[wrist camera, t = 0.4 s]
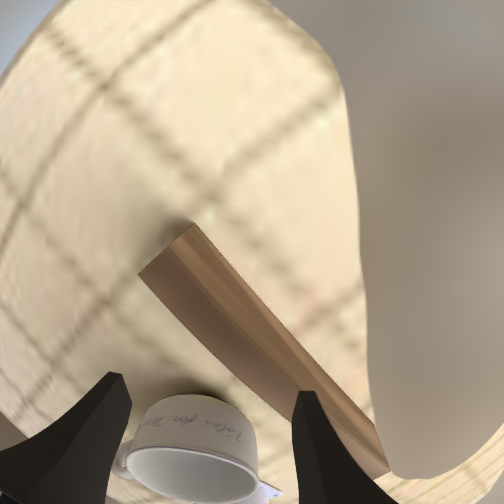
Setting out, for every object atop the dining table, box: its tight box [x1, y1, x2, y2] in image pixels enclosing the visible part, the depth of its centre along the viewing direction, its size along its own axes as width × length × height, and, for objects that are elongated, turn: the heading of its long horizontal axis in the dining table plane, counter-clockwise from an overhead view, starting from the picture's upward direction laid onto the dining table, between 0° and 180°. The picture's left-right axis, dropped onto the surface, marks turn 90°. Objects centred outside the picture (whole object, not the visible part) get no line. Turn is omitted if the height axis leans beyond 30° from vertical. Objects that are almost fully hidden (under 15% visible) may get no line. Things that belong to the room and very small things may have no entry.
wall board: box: [137, 223, 391, 480], centre depth 19 cm, size 2×26×7 cm, turn 39°
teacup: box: [111, 394, 260, 504], centre depth 21 cm, size 14×11×8 cm
